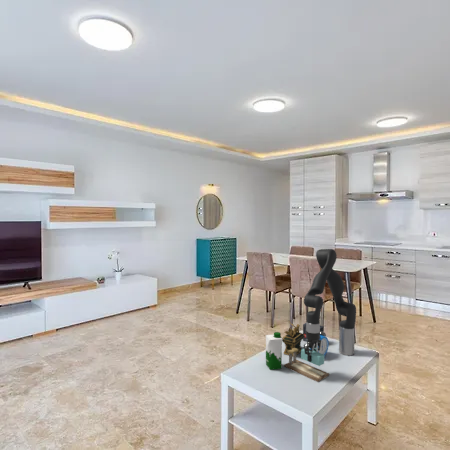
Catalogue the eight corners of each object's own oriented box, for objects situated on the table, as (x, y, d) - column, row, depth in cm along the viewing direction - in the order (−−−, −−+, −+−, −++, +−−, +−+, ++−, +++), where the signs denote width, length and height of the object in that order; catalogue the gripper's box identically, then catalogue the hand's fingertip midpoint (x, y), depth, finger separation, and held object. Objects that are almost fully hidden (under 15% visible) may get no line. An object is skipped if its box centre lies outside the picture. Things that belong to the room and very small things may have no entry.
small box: (302, 340, 229) (302, 324, 228) (306, 337, 234) (306, 321, 234) (319, 345, 220) (320, 328, 220) (323, 342, 225) (324, 325, 225)
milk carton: (283, 369, 185) (283, 335, 185) (268, 370, 183) (269, 336, 183) (277, 362, 194) (278, 330, 193) (263, 364, 192) (264, 331, 191)
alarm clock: (317, 360, 197) (317, 336, 197) (309, 357, 202) (309, 333, 201) (328, 354, 206) (329, 331, 205) (320, 351, 210) (320, 329, 210)
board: (295, 361, 196) (295, 346, 196) (328, 375, 178) (329, 359, 178) (284, 366, 189) (284, 351, 188) (317, 382, 171) (318, 365, 171)
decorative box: (291, 346, 219) (291, 317, 218) (304, 349, 213) (305, 320, 212) (278, 356, 203) (278, 325, 202) (292, 360, 197) (292, 329, 196)
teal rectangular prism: (306, 356, 186) (306, 347, 186) (324, 363, 177) (324, 354, 177) (300, 358, 183) (301, 350, 183) (319, 366, 174) (319, 357, 174)
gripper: (314, 325, 187) (314, 354, 187) (299, 331, 178) (299, 361, 178) (325, 329, 181) (325, 358, 182) (311, 335, 172) (310, 366, 172)
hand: (312, 359), depth 180 cm, fingers closed on teal rectangular prism, 5 cm apart
